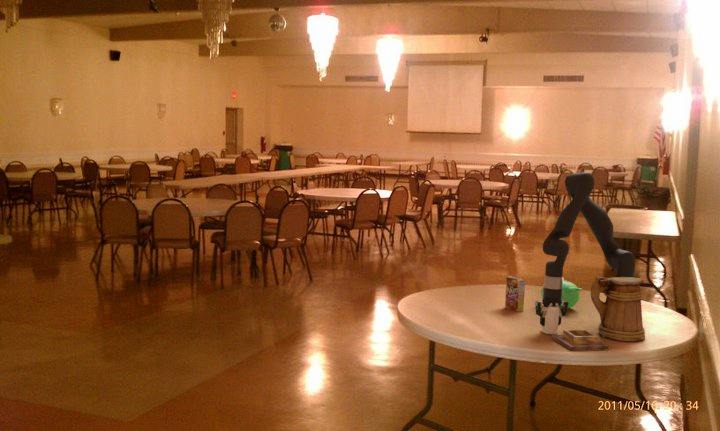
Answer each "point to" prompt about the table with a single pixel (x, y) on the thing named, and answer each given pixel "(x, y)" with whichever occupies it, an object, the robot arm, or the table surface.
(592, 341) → the socket stand
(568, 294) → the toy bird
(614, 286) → the tankard
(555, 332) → the can
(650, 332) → the table surface
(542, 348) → the table surface
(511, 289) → the candy box
